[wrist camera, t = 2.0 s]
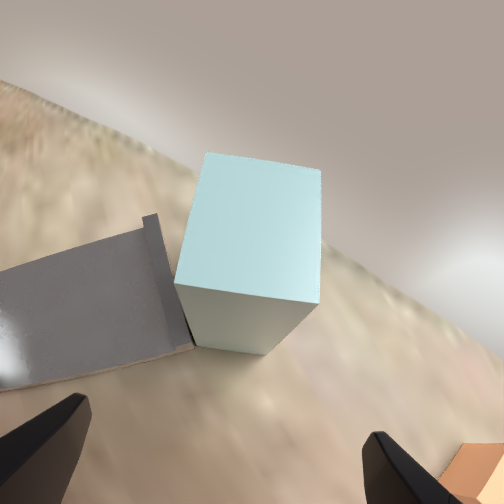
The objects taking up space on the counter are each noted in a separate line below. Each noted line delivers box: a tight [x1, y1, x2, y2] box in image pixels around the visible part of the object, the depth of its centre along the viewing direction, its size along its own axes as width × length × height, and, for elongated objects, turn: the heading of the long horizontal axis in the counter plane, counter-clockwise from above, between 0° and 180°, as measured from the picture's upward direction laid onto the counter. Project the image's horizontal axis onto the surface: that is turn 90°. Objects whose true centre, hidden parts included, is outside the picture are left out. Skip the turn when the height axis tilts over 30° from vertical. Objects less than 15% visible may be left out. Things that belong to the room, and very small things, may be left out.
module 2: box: [438, 443, 504, 504], centre depth 16 cm, size 5×4×6 cm
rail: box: [0, 213, 195, 392], centre depth 17 cm, size 26×10×8 cm, turn 109°
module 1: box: [174, 152, 321, 356], centre depth 18 cm, size 6×5×13 cm
